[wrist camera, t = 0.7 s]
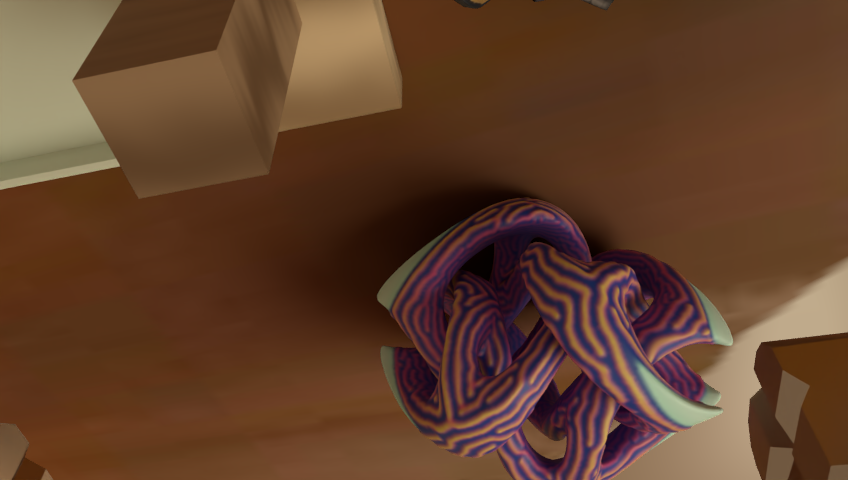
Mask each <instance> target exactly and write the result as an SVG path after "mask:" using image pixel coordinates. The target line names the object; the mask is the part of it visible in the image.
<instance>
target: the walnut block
mask: <svg viewBox="0 0 848 480" xmlns="http://www.w3.org/2000/svg"><path fill="white" fill-rule="evenodd" d="M301 27H302V21H301V18H300V15H299V12H298V9H297V6H296V3H295V0H122V1H121V3H120V5H119V6H118V8H117V9H116V11H115V13H114V14H113V16H112V17H111V19H110V21H109V22H108V24H107V25H106V27H105V29H104V30H103V32H102V33H101V35H100V37H99V38H98V40H97V41H96V43H95V45H94V46H93V48H92V49H91V51H90V53H89V54H88V56H87V57H86V59H85V61H84V62H83V64H82V65H81V67H80V69H79V70H78V72H77V73H76V75H75V77H74V78H73V80H72V82H73V83H74V85H75V87H76V89H77V90H78V92H79V94H80V96H81V98H82V99H83V101H84V103H85V105H86V106H87V108H88V110H89V112H90V113H91V115H92V117H93V119H94V121H95V122H96V124H97V126H98V128H99V129H100V131H101V133H102V135H103V136H104V138H105V140H106V142H107V143H108V145H109V147H110V149H111V151H112V152H113V154H114V156H115V158H116V159H117V161H118V163H119V165H120V166H121V168H122V170H123V172H124V174H125V175H126V177H127V179H128V181H129V182H130V184H131V186H132V188H133V189H134V191H135V193H136V195H137V196H138V198H145V197H150V196H155V195H161V194H166V193H171V192H176V191H182V190H187V189H192V188H198V187H203V186H208V185H214V184H219V183H224V182H229V181H235V180H240V179H245V178H251V177H256V176H261V175H267V174H269V171H270V166H271V162H272V157H273V153H274V148H275V144H276V139H277V135H278V130H279V126H280V121H281V117H282V112H283V108H284V103H285V99H286V94H287V90H288V85H289V81H290V76H291V72H292V68H293V63H294V59H295V54H296V50H297V45H298V41H299V36H300V32H301Z"/></svg>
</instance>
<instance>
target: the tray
mask: <svg viewBox="0 0 848 480" xmlns="http://www.w3.org/2000/svg"><path fill="white" fill-rule="evenodd" d="M121 1H122V0H0V189H5V188H10V187H15V186H21V185H26V184H31V183H36V182H41V181H46V180H51V179H57V178H62V177H67V176H72V175H77V174H82V173H87V172H92V171H98V170H103V169H108V168H113V167H118V166H120V165H119V163H118V161H117V159H116V158H115V156H114V154H113V152H112V151H111V149H110V147H109V145H108V143H107V142H106V140H105V138H104V136H103V135H102V133H101V131H100V129H99V128H98V126H97V124H96V122H95V121H94V119H93V117H92V115H91V113H90V112H89V110H88V108H87V106H86V105H85V103H84V101H83V99H82V98H81V96H80V94H79V92H78V90H77V89H76V87H75V85H74V83H73V82H72V80H73V78H74V77H75V75H76V73H77V72H78V70H79V69H80V67H81V65H82V64H83V62H84V61H85V59H86V57H87V56H88V54H89V53H90V51H91V49H92V48H93V46H94V45H95V43H96V41H97V40H98V38H99V37H100V35H101V33H102V32H103V30H104V29H105V27H106V25H107V24H108V22H109V21H110V19H111V17H112V16H113V14H114V13H115V11H116V9H117V8H118V6H119V5H120V3H121Z"/></svg>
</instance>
